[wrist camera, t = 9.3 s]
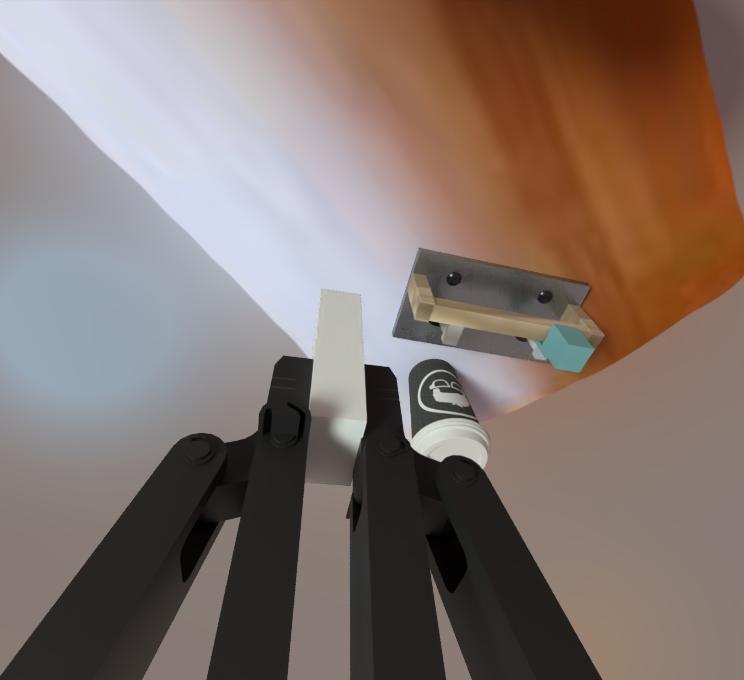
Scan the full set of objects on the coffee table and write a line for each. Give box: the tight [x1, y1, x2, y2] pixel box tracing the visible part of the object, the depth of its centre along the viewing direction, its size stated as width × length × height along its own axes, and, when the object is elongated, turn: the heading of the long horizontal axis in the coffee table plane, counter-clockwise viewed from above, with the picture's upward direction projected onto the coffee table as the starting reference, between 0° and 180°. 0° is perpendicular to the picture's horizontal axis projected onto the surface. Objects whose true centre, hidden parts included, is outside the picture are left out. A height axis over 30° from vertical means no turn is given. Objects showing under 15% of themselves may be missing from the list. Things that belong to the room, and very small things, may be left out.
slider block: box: [526, 324, 594, 373], centre depth 52 cm, size 6×3×10 cm, turn 167°
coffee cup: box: [409, 359, 490, 469], centre depth 57 cm, size 10×10×15 cm
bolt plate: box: [392, 248, 591, 363], centre depth 56 cm, size 12×22×1 cm, turn 77°
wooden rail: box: [408, 273, 605, 352], centre depth 53 cm, size 5×22×6 cm, turn 77°
